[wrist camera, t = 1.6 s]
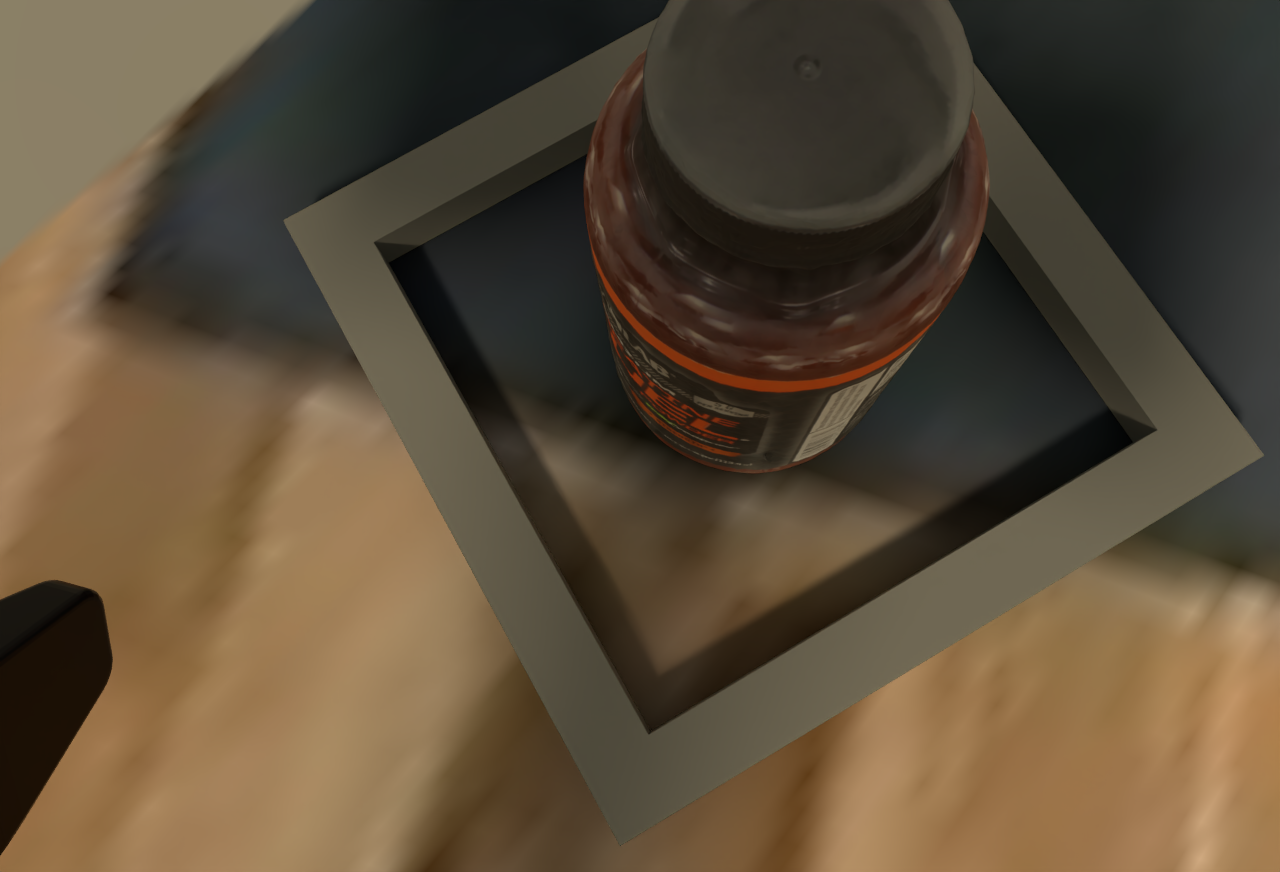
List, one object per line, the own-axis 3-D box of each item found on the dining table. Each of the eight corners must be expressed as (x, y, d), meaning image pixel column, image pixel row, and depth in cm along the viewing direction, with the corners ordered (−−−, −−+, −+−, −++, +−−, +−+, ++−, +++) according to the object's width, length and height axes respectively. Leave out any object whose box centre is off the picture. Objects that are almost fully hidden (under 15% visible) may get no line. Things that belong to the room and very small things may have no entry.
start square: (1233, 466, 22) (1264, 455, 21) (623, 836, 21) (620, 846, 20) (851, -57, 26) (859, -92, 24) (302, 241, 24) (283, 220, 23)
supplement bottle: (559, 370, 24) (449, 103, 13) (725, 176, 24) (758, -233, 13) (772, 537, 23) (856, 408, 11) (937, 329, 23) (1162, 23, 12)
